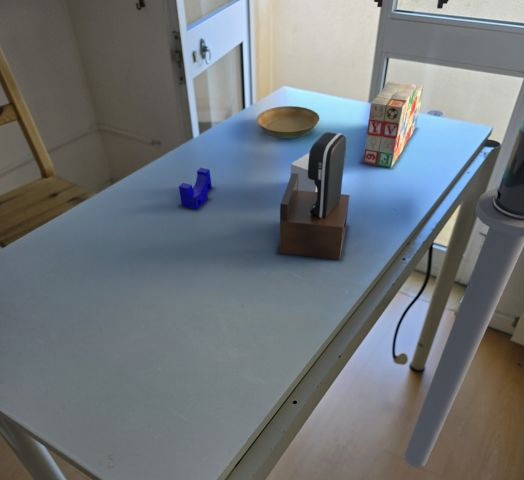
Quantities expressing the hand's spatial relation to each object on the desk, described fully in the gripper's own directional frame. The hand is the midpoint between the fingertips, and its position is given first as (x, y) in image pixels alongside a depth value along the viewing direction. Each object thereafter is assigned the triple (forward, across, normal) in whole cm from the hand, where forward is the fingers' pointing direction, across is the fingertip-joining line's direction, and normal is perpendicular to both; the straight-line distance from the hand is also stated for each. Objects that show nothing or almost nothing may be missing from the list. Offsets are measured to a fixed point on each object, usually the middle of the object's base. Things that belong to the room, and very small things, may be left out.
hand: (409, 6), depth 69 cm
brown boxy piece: (+30, -10, -17) cm, 36 cm away
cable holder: (+30, -34, -7) cm, 46 cm away
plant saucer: (+30, -23, +27) cm, 47 cm away
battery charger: (+24, -9, -17) cm, 31 cm away
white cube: (+30, -13, -1) cm, 33 cm away
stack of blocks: (+30, +1, +22) cm, 38 cm away
